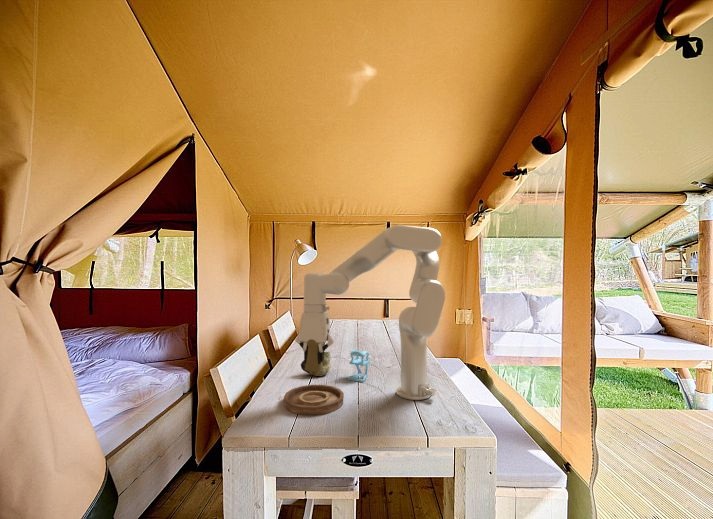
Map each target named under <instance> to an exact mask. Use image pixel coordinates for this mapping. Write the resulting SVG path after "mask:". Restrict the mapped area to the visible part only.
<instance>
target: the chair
mask: <svg viewBox="0 0 713 519" xmlns="http://www.w3.org/2000/svg"><path fill="white" fill-rule="evenodd" d="M349 355H350V358H351V360H350V361H349V365H354V366H355V367H356V369H357V371H358V373H356V374H353V375H349V376H347V378H346V379H347V381H354V382H357V383H358V382H360V383H365V382H366V379H367V377H368V371H369V366H370V363H371V360H370V359H369V355H370V352H369V351H367V350H364V351H360V350H358V349H353V350H351V351H350V354H349ZM354 356H355V357H356V358H355V359H354ZM365 356H366V358H365ZM359 357H361V358H359ZM364 358H365V359H364ZM361 366H362V367H364V366H365V371H364V375H363V372H362V370H361V368H360V367H361ZM362 375H363V377H362ZM358 377H362V378H363V379H362V378H358Z"/></svg>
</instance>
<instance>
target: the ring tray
mask: <svg viewBox="0 0 713 519" xmlns="http://www.w3.org/2000/svg"><path fill="white" fill-rule="evenodd" d="M283 404H284V405H283V406H284V408H285V410H286V411H288V412H290V413H293V414H296V415H300V416H319V415H326V414H329V413H330V414H331V413H332V412H335V411H337V410H338V409H340V408H341V407H342V406H343V405H344V392H343V390H341V389H340V388H338V387H335V386H333V385H326V384H308V385H307V384H306V385H301V386H298V387H294V388H292V389H290V390H289V391H287V392H285V394H284V396H283Z"/></svg>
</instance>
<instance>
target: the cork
mask: <svg viewBox="0 0 713 519" xmlns="http://www.w3.org/2000/svg"><path fill="white" fill-rule="evenodd" d="M318 344H319V343H317V342H316V341H315V340H312V339H310V340H308V342H307V345H308V352H307V361H306V366H305V370H307V371H320V370H322V369H323V367H322V362H321V364H318V352H319V346H318Z"/></svg>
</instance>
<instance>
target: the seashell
mask: <svg viewBox="0 0 713 519" xmlns="http://www.w3.org/2000/svg"><path fill="white" fill-rule="evenodd" d="M305 366H306V363H305V360H304V359H303V360H302V361H301V363H300V368H301V370H303V372H305V373H307V374H310V375H311V376H315V377H322V376H325V375H327V374H328V373H330V370H331V368H332V363H331V352H330V351H324V361H323V362H322V367H323V369H322V370H320V371H307V370H305Z"/></svg>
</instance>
